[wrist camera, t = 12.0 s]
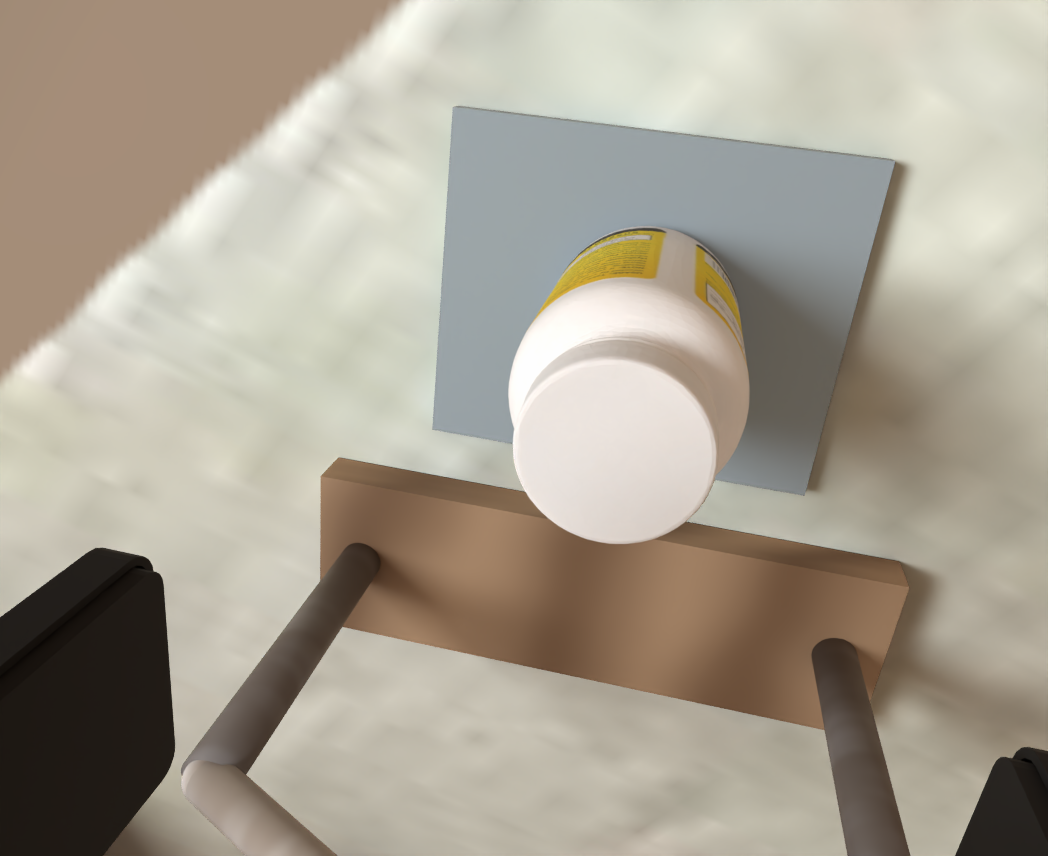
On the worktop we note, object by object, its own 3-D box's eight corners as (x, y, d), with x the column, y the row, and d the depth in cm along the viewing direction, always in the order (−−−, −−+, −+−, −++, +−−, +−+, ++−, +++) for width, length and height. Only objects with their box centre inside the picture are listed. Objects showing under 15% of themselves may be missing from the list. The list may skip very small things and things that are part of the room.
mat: (890, 158, 23) (895, 161, 22) (802, 487, 27) (804, 495, 26) (458, 106, 24) (452, 106, 24) (437, 422, 28) (432, 429, 28)
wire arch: (899, 561, 27) (1127, 1135, 12) (850, 706, 29) (993, 1327, 15) (338, 457, 30) (-15, 832, 15) (336, 598, 32) (31, 1038, 17)
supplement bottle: (526, 355, 26) (436, 503, 17) (600, 191, 24) (539, 265, 15) (685, 430, 26) (675, 616, 17) (774, 273, 24) (816, 395, 15)
